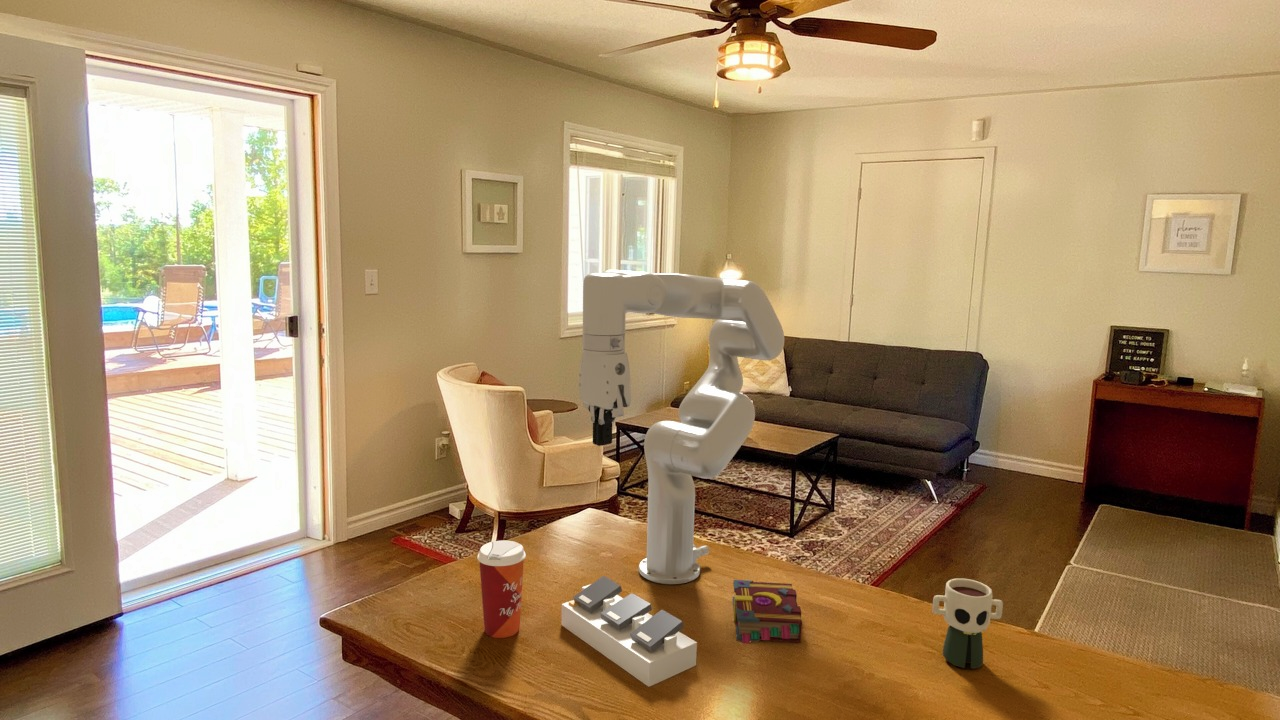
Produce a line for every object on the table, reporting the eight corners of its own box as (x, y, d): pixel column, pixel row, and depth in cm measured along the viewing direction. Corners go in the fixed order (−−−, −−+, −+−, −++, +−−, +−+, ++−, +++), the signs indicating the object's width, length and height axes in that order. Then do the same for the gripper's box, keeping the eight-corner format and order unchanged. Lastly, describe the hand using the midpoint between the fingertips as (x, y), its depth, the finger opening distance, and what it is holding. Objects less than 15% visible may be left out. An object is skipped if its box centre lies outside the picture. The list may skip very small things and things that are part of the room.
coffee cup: (516, 644, 131) (515, 560, 129) (470, 638, 133) (469, 555, 131) (532, 620, 139) (532, 541, 137) (489, 615, 141) (488, 536, 139)
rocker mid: (633, 600, 135) (631, 592, 135) (652, 611, 131) (651, 603, 131) (601, 620, 131) (599, 612, 131) (620, 632, 127) (618, 624, 127)
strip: (596, 602, 147) (597, 571, 146) (696, 665, 126) (697, 629, 125) (552, 618, 140) (552, 586, 139) (648, 686, 120) (649, 649, 119)
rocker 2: (663, 616, 129) (661, 608, 129) (684, 628, 125) (682, 621, 125) (631, 641, 125) (629, 633, 125) (652, 654, 121) (650, 646, 121)
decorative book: (791, 604, 148) (793, 580, 147) (803, 649, 132) (804, 621, 132) (731, 601, 149) (733, 577, 148) (736, 645, 133) (737, 618, 132)
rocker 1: (605, 582, 141) (603, 574, 141) (622, 592, 137) (620, 585, 137) (574, 603, 138) (572, 596, 137) (592, 615, 134) (589, 607, 133)
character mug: (933, 669, 126) (939, 594, 124) (923, 647, 133) (929, 575, 131) (1003, 676, 125) (1011, 600, 123) (990, 652, 132) (997, 580, 130)
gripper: (647, 347, 135) (644, 450, 138) (595, 337, 146) (594, 432, 149) (612, 350, 130) (611, 457, 133) (562, 339, 141) (561, 438, 144)
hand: (602, 443), depth 141 cm, fingers closed
